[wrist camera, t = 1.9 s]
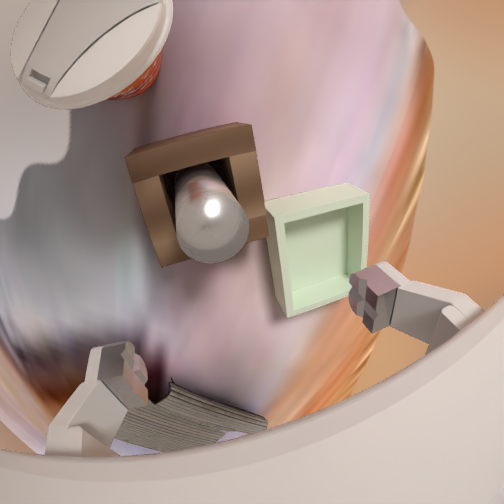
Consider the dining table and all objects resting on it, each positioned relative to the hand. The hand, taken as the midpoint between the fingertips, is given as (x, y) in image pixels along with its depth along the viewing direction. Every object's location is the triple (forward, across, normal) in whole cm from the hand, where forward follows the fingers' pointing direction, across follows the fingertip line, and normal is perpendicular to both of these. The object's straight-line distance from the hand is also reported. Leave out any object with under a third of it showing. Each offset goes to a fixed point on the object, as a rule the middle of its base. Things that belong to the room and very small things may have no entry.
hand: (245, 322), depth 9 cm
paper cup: (+18, +4, -13) cm, 22 cm away
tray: (+18, -10, +9) cm, 23 cm away
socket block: (+18, 0, -1) cm, 18 cm away
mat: (+19, +15, +38) cm, 46 cm away
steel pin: (+18, 0, -1) cm, 18 cm away
